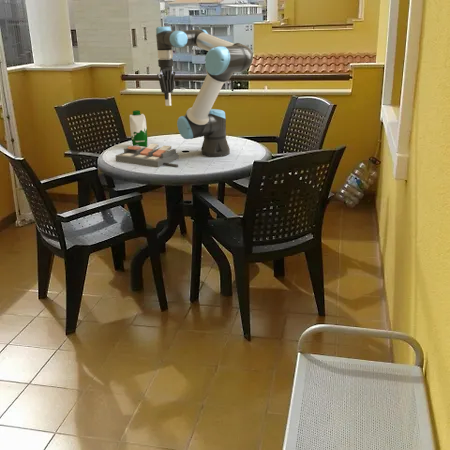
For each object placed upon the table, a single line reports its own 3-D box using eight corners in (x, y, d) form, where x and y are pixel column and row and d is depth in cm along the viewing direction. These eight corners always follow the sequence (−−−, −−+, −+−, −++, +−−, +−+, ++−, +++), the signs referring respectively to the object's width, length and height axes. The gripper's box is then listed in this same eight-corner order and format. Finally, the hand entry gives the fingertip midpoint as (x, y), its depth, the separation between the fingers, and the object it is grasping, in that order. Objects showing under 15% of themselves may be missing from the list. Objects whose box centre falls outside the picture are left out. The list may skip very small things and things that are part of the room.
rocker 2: (171, 148, 271) (170, 146, 270) (160, 156, 264) (159, 154, 263) (164, 147, 273) (164, 145, 272) (153, 155, 266) (152, 153, 265)
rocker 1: (146, 149, 279) (146, 147, 279) (134, 149, 271) (134, 147, 270) (140, 148, 281) (140, 146, 281) (127, 148, 273) (127, 146, 272)
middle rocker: (158, 146, 274) (158, 144, 274) (147, 155, 268) (146, 153, 267) (151, 145, 276) (151, 143, 276) (140, 154, 270) (140, 152, 269)
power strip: (192, 160, 268) (191, 150, 266) (172, 169, 254) (172, 158, 252) (137, 153, 285) (136, 144, 283) (116, 161, 271) (115, 151, 270)
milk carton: (146, 145, 303) (143, 109, 295) (149, 148, 295) (146, 112, 287) (131, 146, 301) (127, 110, 293) (133, 150, 293) (129, 113, 285)
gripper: (167, 57, 277) (170, 103, 286) (151, 59, 267) (155, 107, 276) (178, 57, 274) (181, 104, 283) (163, 60, 263) (166, 107, 272)
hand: (168, 105), depth 279 cm, fingers closed
